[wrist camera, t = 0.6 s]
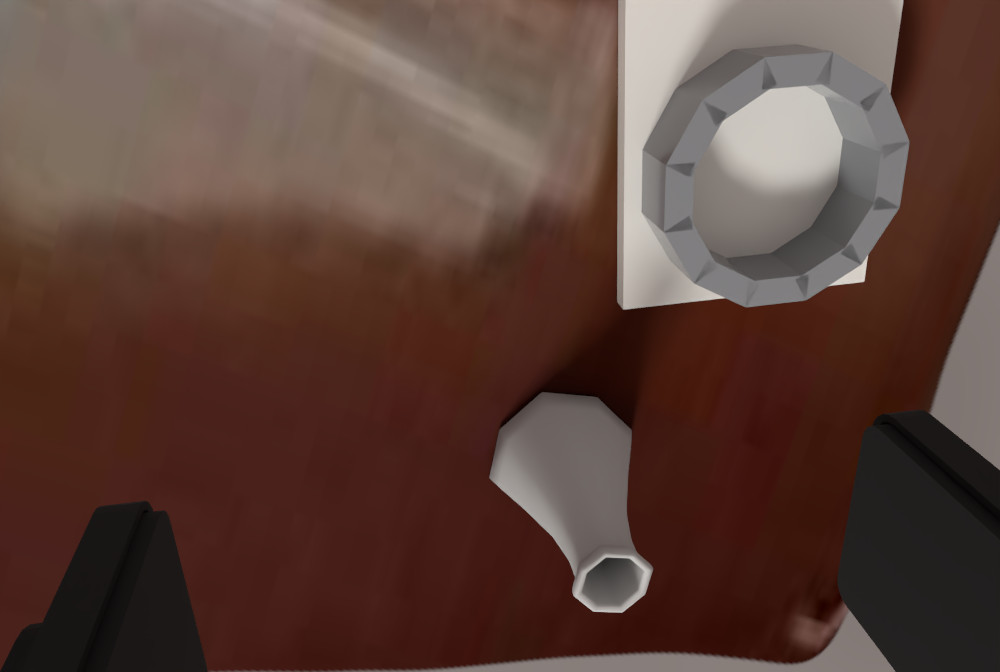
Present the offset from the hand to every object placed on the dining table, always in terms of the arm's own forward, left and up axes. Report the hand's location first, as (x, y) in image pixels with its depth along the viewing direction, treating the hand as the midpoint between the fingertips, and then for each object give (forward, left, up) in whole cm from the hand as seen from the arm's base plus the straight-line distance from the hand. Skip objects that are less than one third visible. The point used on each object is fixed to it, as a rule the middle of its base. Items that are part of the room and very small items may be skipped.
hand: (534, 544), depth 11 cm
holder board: (0, +15, -27) cm, 30 cm away
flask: (+16, +6, -27) cm, 32 cm away
